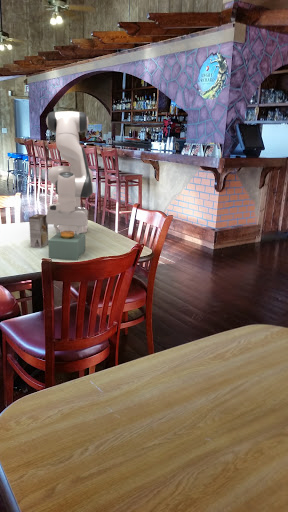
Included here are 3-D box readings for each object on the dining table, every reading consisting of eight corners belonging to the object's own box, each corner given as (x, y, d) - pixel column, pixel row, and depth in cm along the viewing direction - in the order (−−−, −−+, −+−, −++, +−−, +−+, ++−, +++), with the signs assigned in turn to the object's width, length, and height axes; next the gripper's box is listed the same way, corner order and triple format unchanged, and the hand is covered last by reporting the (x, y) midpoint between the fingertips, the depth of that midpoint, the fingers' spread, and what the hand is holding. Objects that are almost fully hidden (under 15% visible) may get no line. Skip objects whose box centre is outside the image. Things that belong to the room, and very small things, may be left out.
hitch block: (59, 248, 219) (58, 232, 216) (85, 250, 217) (85, 234, 214) (49, 258, 203) (48, 240, 201) (77, 260, 202) (76, 242, 199)
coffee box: (37, 242, 228) (36, 213, 224) (48, 243, 227) (47, 214, 222) (30, 247, 220) (28, 217, 215) (41, 248, 219) (40, 218, 214)
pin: (63, 250, 213) (62, 230, 210) (75, 251, 213) (75, 231, 210) (59, 253, 207) (58, 233, 204) (72, 254, 207) (72, 234, 203)
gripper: (89, 206, 205) (89, 233, 209) (49, 204, 207) (49, 231, 211) (86, 208, 199) (86, 237, 203) (44, 206, 201) (45, 234, 205)
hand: (67, 234), depth 207 cm, fingers open, 8 cm apart
